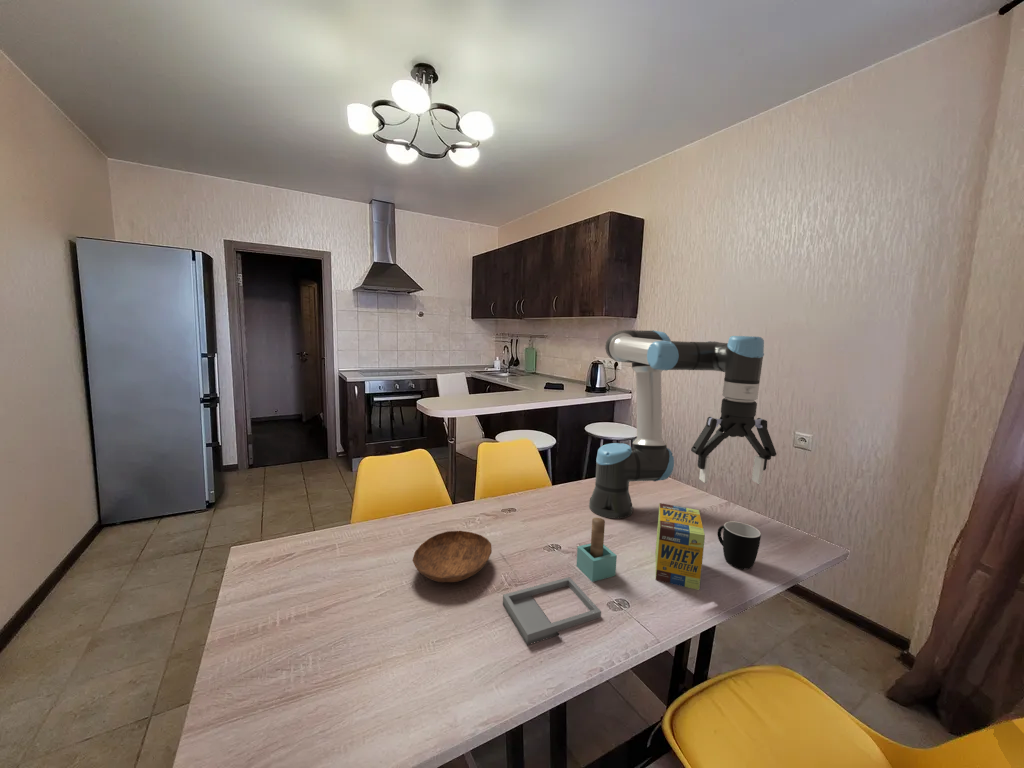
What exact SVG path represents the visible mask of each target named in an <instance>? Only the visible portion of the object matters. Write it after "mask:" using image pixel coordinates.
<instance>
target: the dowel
mask: <svg viewBox="0 0 1024 768" xmlns="http://www.w3.org/2000/svg"><path fill="white" fill-rule="evenodd" d="M605 524H606V520H605V519H603V518H602V517H593V518H592V519H591V534H590V543H591V550H590V555H591V556H592V557H593V558H598V557H602V556H603V544H604V543H605V542H604V541H605ZM604 545H605V544H604Z"/></svg>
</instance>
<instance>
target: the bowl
mask: <svg viewBox="0 0 1024 768" xmlns="http://www.w3.org/2000/svg"><path fill="white" fill-rule="evenodd" d="M492 550H493V549H492V543H491V542H490V541H489V539H488V538H487V537H485V536H483V535H481V534H478V533H475V532H471V531H464V530H449V531H448V530H447V531H444V532H441V533H438V534H435V535H433V536H431V537H429V538H428V539H427V540H425V541H424V542H422V543H421V544H420V545H419V546H418V548H417V549H416V550H415V551H414V554H413V557H412V562H413V564H414V567H415V569H416V570H417V571H418V573H420V574H421V575H422V576H424V577H425V578H428V579H429V580H430V581H435V582H438V583H459V582H462V581H465V580H467V579H469V578H470V577H473V576H474V575H476V574H477V573H479V572H480V571H481V570H482V569H483V568H484V567H485V565H486V564H487V562H488V561H489V558H490V557H491V554H492V553H493V552H492Z"/></svg>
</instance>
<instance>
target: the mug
mask: <svg viewBox="0 0 1024 768" xmlns="http://www.w3.org/2000/svg"><path fill="white" fill-rule="evenodd" d="M722 530H723V532H722ZM716 534H717V539H718V541H719V543H720V545H721V546H722V549H723V556H724V559H725V562H727V564H729V565H730V566H731V567H733V568H737V569H739V570H749V569H751V568H752V567H753V566H754V564H755V561H756V559H757V557H758V553H759V548H760V543H761V537H762V533H761V531H760V530H759V529H757V528H756V526H753V525H750V524H748V523H745V522H740V521H734V520H733V521H727V522H725V523H724V524H723V525H721V526H720V527H719V528H718V529H717V533H716Z"/></svg>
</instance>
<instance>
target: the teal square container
mask: <svg viewBox="0 0 1024 768" xmlns="http://www.w3.org/2000/svg"><path fill="white" fill-rule="evenodd" d="M590 550H591V542H590V543H587V544H582V545H579V546H577V549H576V551H577V553H576V564H575V566H576V567H577V568H578V570H579V571H580V572H582V573H583V574H584V576H585V577H587V579H588V580H589V581H591V583H594V582H598V581H601V580H605V579H607V578H608V579H609V578H612V577H615V576H616V575H617V574H616V572H617V558H618V557H617V556H618V555H617V554H616V553H615V552H614V551H612V550H611V549H610V548H609V547H608V546H606V545H605V544H603V556H602V557H598V558H593V557H592V556H591V555H590Z"/></svg>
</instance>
